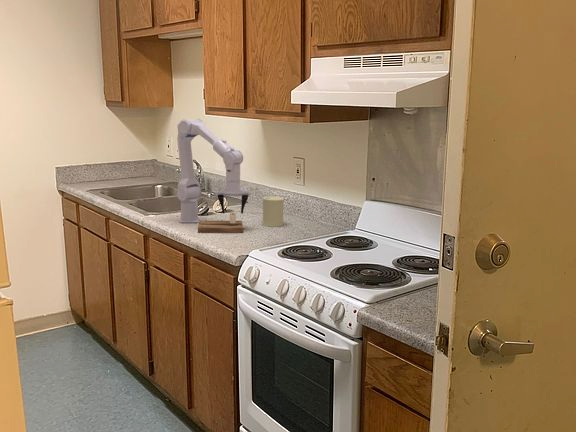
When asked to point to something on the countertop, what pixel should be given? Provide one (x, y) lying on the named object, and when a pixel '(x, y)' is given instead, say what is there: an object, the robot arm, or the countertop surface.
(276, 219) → the can
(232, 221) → the fader
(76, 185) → the countertop surface
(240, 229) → the board
